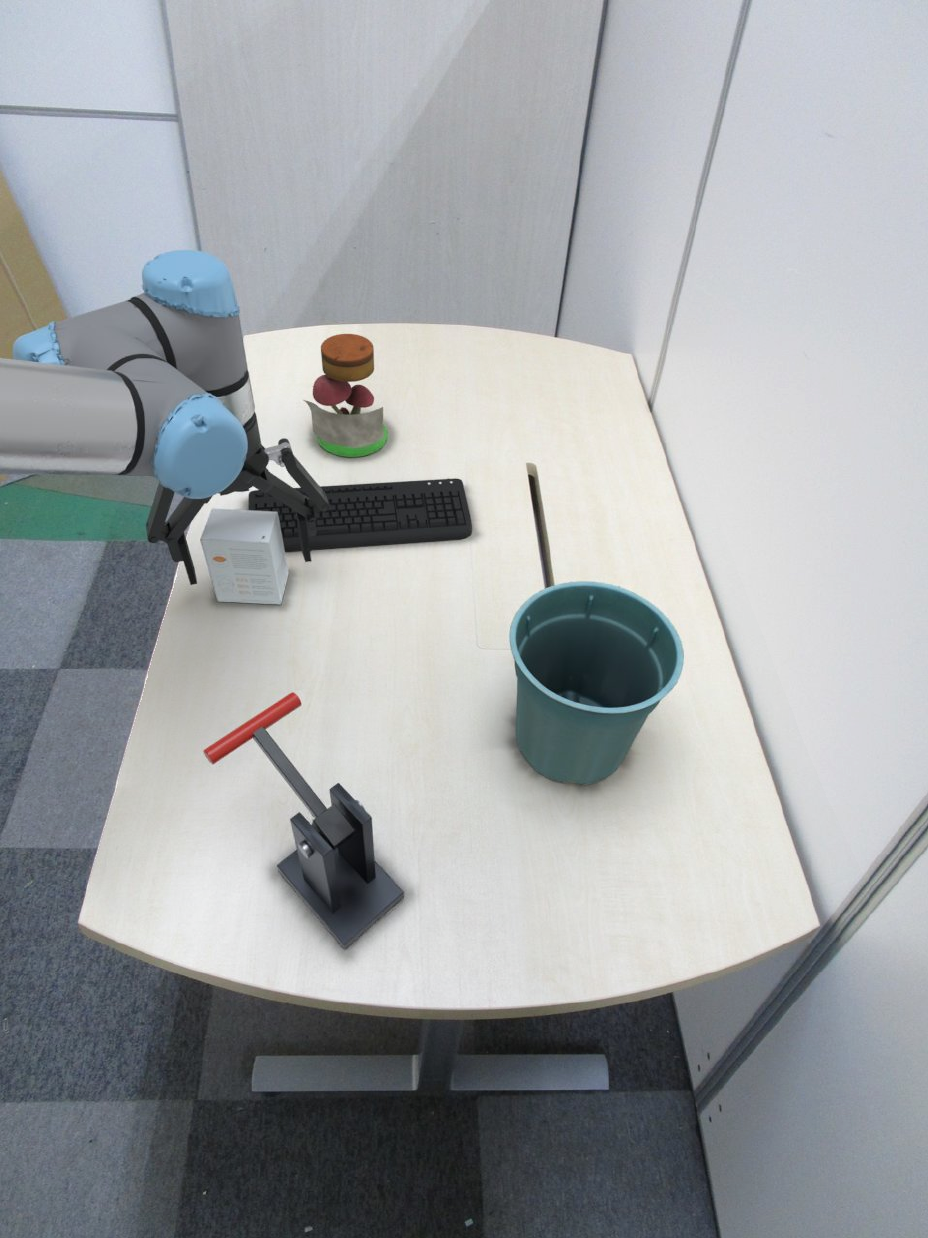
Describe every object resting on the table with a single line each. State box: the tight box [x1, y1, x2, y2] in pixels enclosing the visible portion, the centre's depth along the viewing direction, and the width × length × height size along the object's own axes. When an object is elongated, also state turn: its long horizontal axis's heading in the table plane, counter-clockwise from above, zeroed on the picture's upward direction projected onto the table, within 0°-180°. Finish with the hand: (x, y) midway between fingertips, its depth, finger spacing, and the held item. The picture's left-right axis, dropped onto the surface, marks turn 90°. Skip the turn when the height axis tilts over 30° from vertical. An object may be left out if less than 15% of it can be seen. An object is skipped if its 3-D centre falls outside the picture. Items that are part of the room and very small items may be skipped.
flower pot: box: [508, 580, 685, 786], centre depth 80 cm, size 16×16×16 cm
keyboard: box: [247, 478, 473, 553], centre depth 107 cm, size 30×11×2 cm, turn 99°
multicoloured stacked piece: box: [302, 333, 388, 458], centre depth 115 cm, size 12×13×15 cm
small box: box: [199, 507, 290, 606], centre depth 94 cm, size 8×6×10 cm
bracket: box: [276, 782, 405, 950], centre depth 68 cm, size 10×7×13 cm
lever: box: [202, 691, 355, 851], centre depth 66 cm, size 13×9×2 cm
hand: (250, 565), depth 95 cm, fingers open, 13 cm apart
